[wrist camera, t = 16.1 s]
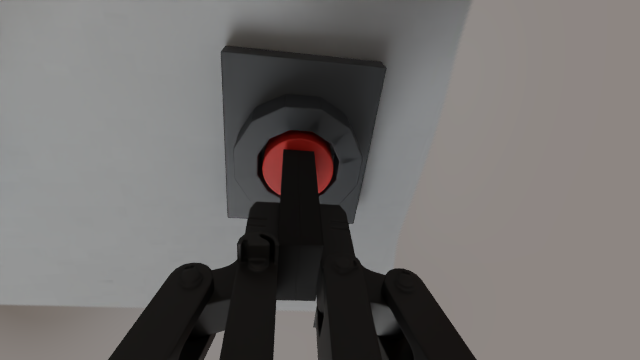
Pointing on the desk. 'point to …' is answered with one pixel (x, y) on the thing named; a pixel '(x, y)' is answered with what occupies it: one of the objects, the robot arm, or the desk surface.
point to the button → (297, 142)
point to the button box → (296, 118)
